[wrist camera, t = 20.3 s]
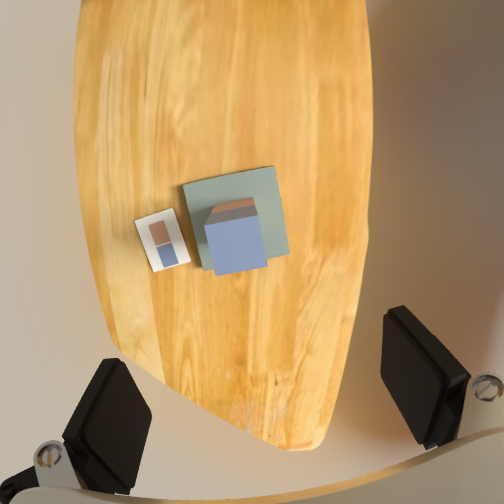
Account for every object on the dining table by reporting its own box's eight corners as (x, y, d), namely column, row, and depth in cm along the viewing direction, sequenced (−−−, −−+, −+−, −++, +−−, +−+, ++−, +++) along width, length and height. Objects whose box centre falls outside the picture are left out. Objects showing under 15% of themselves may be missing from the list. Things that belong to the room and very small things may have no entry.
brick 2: (210, 213, 33) (204, 225, 27) (254, 204, 33) (258, 215, 27) (219, 255, 34) (215, 276, 29) (262, 247, 34) (267, 266, 29)
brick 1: (214, 205, 39) (210, 213, 33) (252, 197, 38) (255, 204, 33) (223, 241, 40) (220, 256, 34) (260, 234, 40) (263, 247, 34)
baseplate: (184, 184, 39) (182, 185, 38) (273, 165, 39) (274, 166, 37) (204, 267, 43) (203, 270, 41) (288, 250, 42) (289, 254, 41)
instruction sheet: (134, 220, 40) (134, 221, 40) (172, 207, 40) (172, 207, 40) (153, 271, 43) (153, 272, 42) (191, 260, 42) (191, 261, 42)
